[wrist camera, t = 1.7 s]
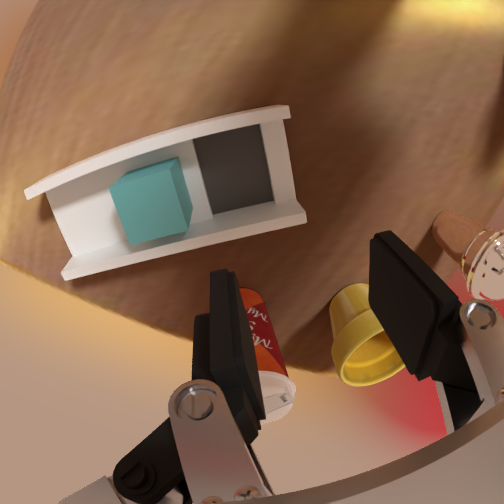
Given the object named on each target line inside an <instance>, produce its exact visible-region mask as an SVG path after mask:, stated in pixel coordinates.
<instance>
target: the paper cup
mask: <svg viewBox="0 0 504 504" xmlns="http://www.w3.org/2000/svg"><path fill="white" fill-rule="evenodd" d="M239 289H240V293H241V296H242V300H243V303H244V307H245V310H246V314H247V317H248V321H249V324H250V327H251V331H252V335H253V341H254V347H255V353H256V360H257V366H258V372H259V378H260V384H261V390H262V396H263V402H264V408H265V414H266V419H265V420H260V424H261V425H263V424H267V423H270V422H273V421H275V420H277V419H280V418H281V417H283V416H284V415H286V414H287V413H288V412H289V411H290V409H291V408H292V406H293V401H294V396H295V393H296V387H295V384H294V383H293V381H292V380H291V379H290V378H289V377H288V374H287V371H286V367H285V364H284V361H283V358H282V355H281V352H280V349H279V345H278V342H277V339H276V336H275V333H274V330H273V327H272V324H271V321H270V318H269V315H268V312H267V309H266V307H265V304H264V301H263V299H262V297H261V296H260V295H259V294H258V293H257V292H255V291H254V290H251V289H247V288H239Z"/></svg>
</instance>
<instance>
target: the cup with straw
mask: <svg viewBox="0 0 504 504" xmlns="http://www.w3.org/2000/svg"><path fill="white" fill-rule="evenodd" d="M432 236H433V238H434V240H435V241H437V243H438V244H439V245H440V246H441V248H442V249H443V250H444V251H445V252H446V253H447V255H448V256H449V257H450V258H451V259H452V260H453V262H454V263H455V264H456V265H457V266H458V268H459V269H460V270H461V273H462V274H463V275H464V277H465V279H466V281H467V290H468V293H469V294H470V295H471V296H473V297H474V298H476V299H480V300H482V299H488V300H494V301H497V300H502V299H504V230H499V231H495V230H492V229H490V228H485V227H483V226H481V225H479V224H477V223H475V222H473V221H471V220H469V219H467V218H465V217H463V216H461V215H459V214H457V213H453V212H452V211H450V210H445V211H443V212H441V213H440V214H439V215H438V216H437V217H436V219H435V221H434V223H433V226H432Z"/></svg>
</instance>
